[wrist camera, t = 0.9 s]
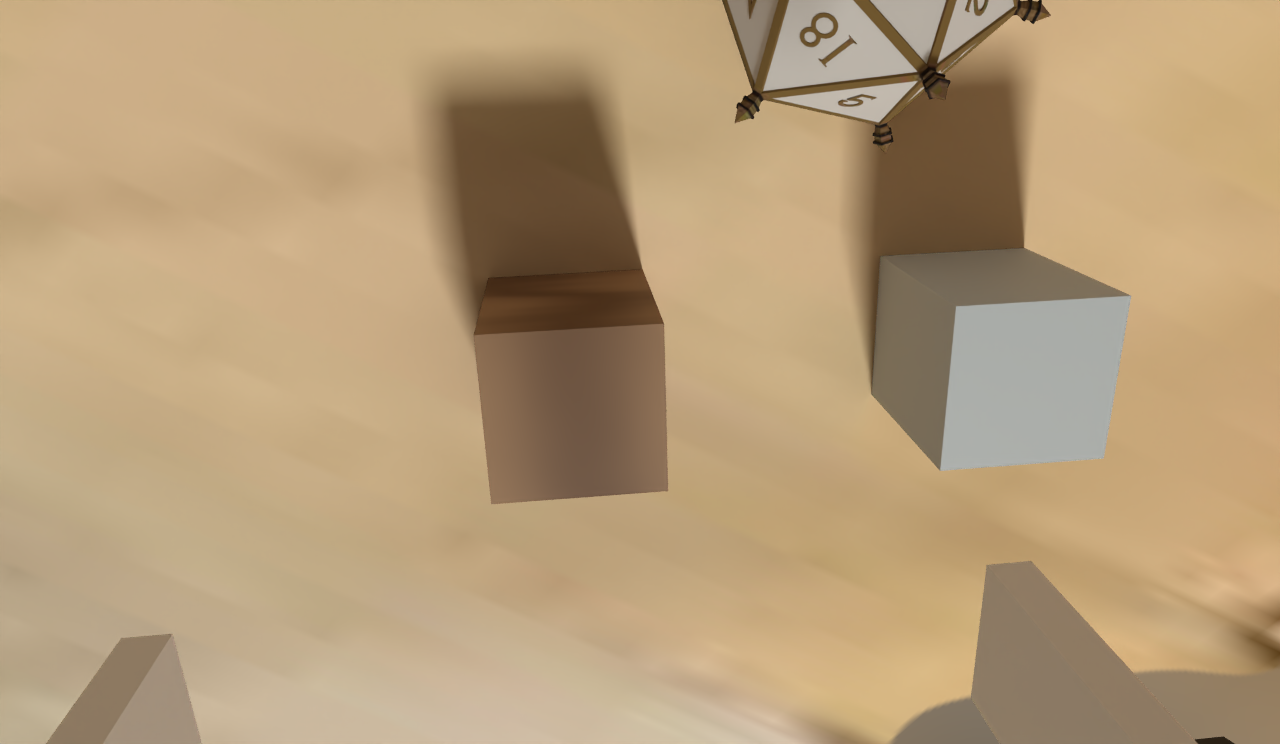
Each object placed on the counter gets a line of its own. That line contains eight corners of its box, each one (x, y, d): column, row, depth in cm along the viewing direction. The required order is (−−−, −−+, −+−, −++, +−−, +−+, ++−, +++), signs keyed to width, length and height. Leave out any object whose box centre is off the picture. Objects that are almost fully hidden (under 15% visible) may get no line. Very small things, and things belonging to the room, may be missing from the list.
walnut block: (502, 418, 31) (491, 504, 25) (488, 277, 29) (473, 335, 23) (646, 409, 31) (668, 490, 25) (642, 268, 29) (663, 323, 24)
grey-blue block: (871, 393, 32) (940, 470, 26) (880, 255, 30) (955, 306, 24) (1006, 384, 32) (1103, 458, 26) (1023, 247, 30) (1131, 295, 25)
